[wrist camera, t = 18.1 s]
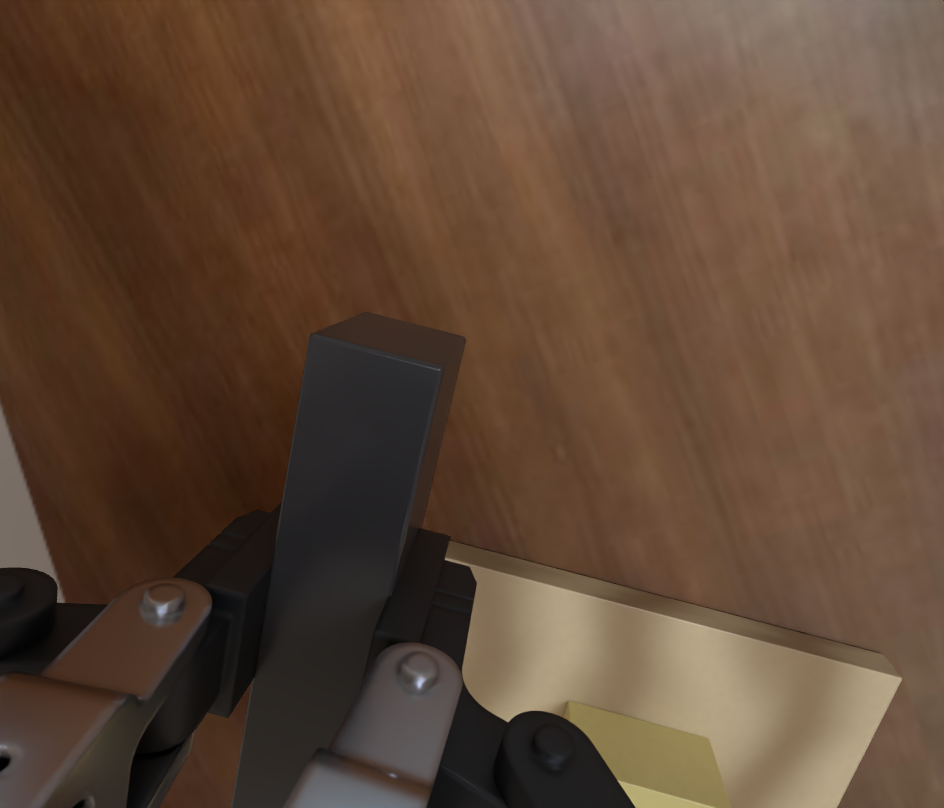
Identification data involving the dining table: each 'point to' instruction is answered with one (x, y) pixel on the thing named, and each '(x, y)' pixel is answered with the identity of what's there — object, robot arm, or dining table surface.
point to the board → (677, 675)
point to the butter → (653, 760)
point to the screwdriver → (342, 533)
